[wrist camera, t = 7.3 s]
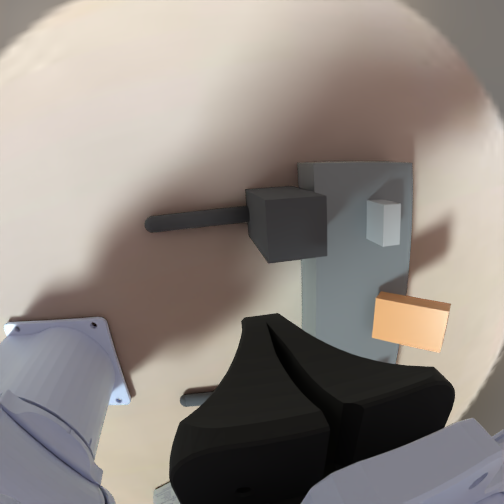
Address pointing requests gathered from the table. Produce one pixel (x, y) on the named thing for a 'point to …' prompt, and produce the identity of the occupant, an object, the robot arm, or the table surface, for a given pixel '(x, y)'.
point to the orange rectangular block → (410, 321)
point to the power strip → (357, 251)
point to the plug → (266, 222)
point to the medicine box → (165, 495)
